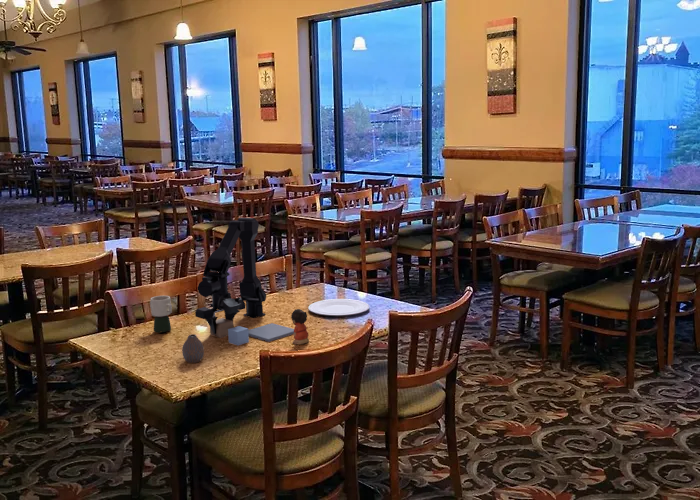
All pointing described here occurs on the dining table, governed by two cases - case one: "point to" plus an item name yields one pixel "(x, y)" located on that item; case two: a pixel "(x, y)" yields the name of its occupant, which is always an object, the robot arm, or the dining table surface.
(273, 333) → the build plate
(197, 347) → the vase
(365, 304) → the plate
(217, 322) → the walnut brick
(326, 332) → the dining table surface
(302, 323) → the figurine
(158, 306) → the character mug
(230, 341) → the blue brick
